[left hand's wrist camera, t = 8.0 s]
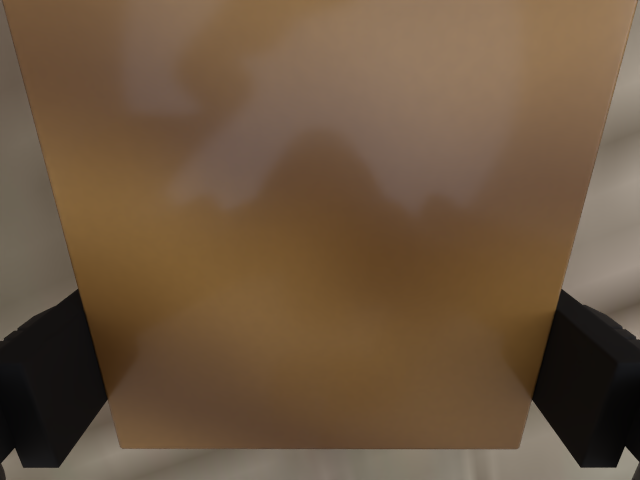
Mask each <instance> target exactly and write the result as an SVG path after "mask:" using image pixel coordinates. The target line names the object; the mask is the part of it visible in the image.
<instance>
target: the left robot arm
mask: <svg viewBox="0 0 640 480" xmlns="http://www.w3.org/2000/svg"><path fill="white" fill-rule="evenodd" d="M107 400H108V399H107V395H106V392H105V388H104V384H103V380H102V376H101V373H100V369H99V365H98V361H97V357H96V354H95V350H94V346H93V342H92V339H91V335H90V331H89V327H88V323H87V320H86V316H85V312H84V308H83V304H82V301H81V297H80V293H79V289H77V290H76V291H75V292H73V293H72V294H71V295H69V296H68V297H67V298H66V299H64V300H63V301H62V302H60V303H59V304H58V305H56V306H54V307H52V308H50V309H48V310H46V311H44V312H42V313H40V314H38V315H35V316H33V317H32V318H31V319H29V320H28V321H27V322H25V323H24V324H23V325H21V326H20V327H19V328H18V330H17V331H13V332H12V333H11V334H9V335H8V336H7V337H5V338H4V341H0V480H6V477H5V472H4V469H3V467H2V464H1V463H2V462H3V460H4V459H5V458H6V457H7V456H8V455H9V454H10V453H11V451H12V450H13V449H14V448H15V449H16V451H17V454H18V456H19V458H20V461H21V463H22V466H23V468H59V467H60V465H61V464H62V462H63V461H64V460H65V458H66V457H67V455H68V454H69V453H70V451H71V450H72V448H73V447H74V446H75V444H76V443H77V441H78V440H79V439H80V437H81V436H82V435H83V433H84V432H85V430H86V429H87V428H88V426H89V425H90V423H91V422H92V421H93V419H94V418H95V416H96V415H97V414H98V412H99V411H100V409H101V408H102V407H103V405H104V404H105V402H106V401H107ZM532 400H533V401H534V403H535V404H536V406H537V407H538V408H539V410H540V411H541V413H542V414H543V415H544V417H545V418H546V420H547V421H548V422H549V424H550V425H551V427H552V428H553V429H554V431H555V432H556V434H557V435H558V436H559V438H560V439H561V441H562V442H563V443H564V445H565V446H566V448H567V449H568V450H569V452H570V453H571V455H572V456H573V457H574V459H575V460H576V462H577V463H578V464H579V466H580V467H581V468H616V467H617V464H618V462H619V459H620V457H621V455H622V452H623V450H624V447H625V446H626V447H627V449H628V450H629V451H630V452H631V453H632V454H633V455H634V456H635V458H636V459H637V460H638V461H639V464H638V467H637V469H636V471H635V473H634V476H633V478H632V480H640V340H637V339H636V337H635V336H634V335H633V334H631V333H630V332H629V331H627V330H626V329H623V328H622V326H621V325H619V324H618V323H616V322H615V321H614V320H612V319H611V318H610V317H608V316H607V315H605V314H603V313H601V312H599V311H597V310H595V309H593V308H591V307H589V306H587V305H582V304H581V303H579V302H578V301H577V300H575V299H574V298H573V297H571V296H570V295H569V294H568V293H566V292H565V291H564V290H562V289H561V292H560V296H559V300H558V303H557V307H556V311H555V315H554V318H553V322H552V326H551V330H550V333H549V337H548V341H547V345H546V348H545V352H544V356H543V360H542V364H541V367H540V371H539V375H538V379H537V382H536V386H535V390H534V394H533V397H532Z"/></svg>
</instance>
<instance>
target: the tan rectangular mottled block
mask: <svg viewBox="0 0 640 480" xmlns="http://www.w3.org/2000/svg"><path fill="white" fill-rule="evenodd" d="M2 2H3V5H4V9H5V13H6V17H7V21H8V24H9V28H10V32H11V36H12V40H13V43H14V47H15V51H16V55H17V58H18V62H19V66H20V70H21V74H22V77H23V81H24V85H25V89H26V93H27V96H28V100H29V104H30V108H31V111H32V115H33V119H34V123H35V127H36V130H37V134H38V138H39V142H40V146H41V149H42V153H43V157H44V161H45V164H46V168H47V172H48V176H49V180H50V183H51V187H52V191H53V195H54V198H55V202H56V206H57V210H58V214H59V217H60V221H61V225H62V229H63V233H64V236H65V240H66V244H67V248H68V251H69V255H70V259H71V263H72V267H73V270H74V274H75V278H76V282H77V286H78V289H79V293H80V297H81V301H82V304H83V308H84V312H85V316H86V320H87V323H88V327H89V331H90V335H91V339H92V342H93V346H94V350H95V354H96V357H97V361H98V365H99V369H100V373H101V376H102V380H103V384H104V388H105V392H106V395H107V399H108V403H109V407H110V410H111V414H112V418H113V422H114V426H115V429H116V433H117V437H118V441H119V445H120V447H121V448H122V449H518V448H519V446H520V443H521V439H522V435H523V431H524V428H525V424H526V420H527V416H528V412H529V409H530V405H531V401H532V397H533V394H534V390H535V386H536V382H537V379H538V375H539V371H540V367H541V364H542V360H543V356H544V352H545V348H546V345H547V341H548V337H549V333H550V330H551V326H552V322H553V318H554V315H555V311H556V307H557V303H558V300H559V296H560V292H561V288H562V285H563V281H564V277H565V273H566V269H567V266H568V262H569V258H570V254H571V251H572V247H573V243H574V239H575V236H576V232H577V228H578V224H579V221H580V217H581V213H582V209H583V205H584V202H585V198H586V194H587V190H588V187H589V183H590V179H591V175H592V172H593V168H594V164H595V160H596V157H597V153H598V149H599V145H600V141H601V138H602V134H603V130H604V126H605V123H606V119H607V115H608V111H609V108H610V104H611V100H612V96H613V93H614V89H615V85H616V81H617V78H618V74H619V70H620V66H621V62H622V59H623V55H624V51H625V47H626V44H627V40H628V36H629V32H630V29H631V25H632V21H633V17H634V14H635V10H636V6H637V2H638V0H2Z"/></svg>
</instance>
